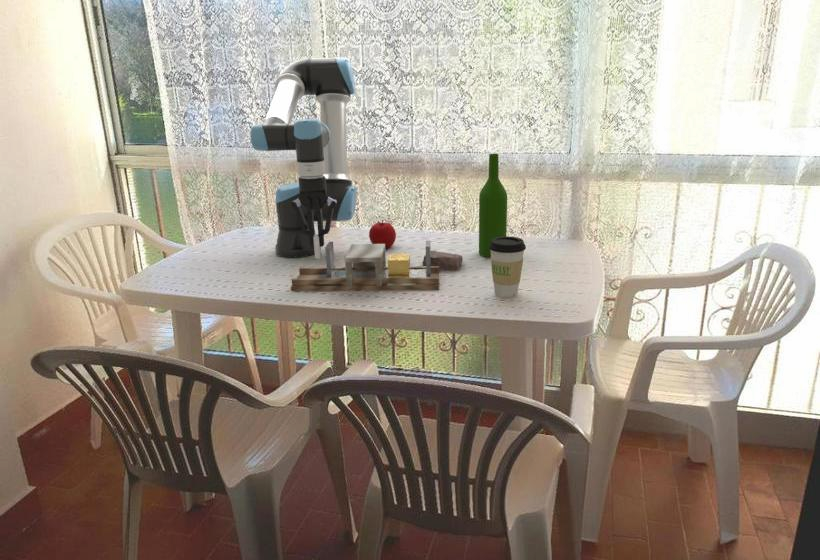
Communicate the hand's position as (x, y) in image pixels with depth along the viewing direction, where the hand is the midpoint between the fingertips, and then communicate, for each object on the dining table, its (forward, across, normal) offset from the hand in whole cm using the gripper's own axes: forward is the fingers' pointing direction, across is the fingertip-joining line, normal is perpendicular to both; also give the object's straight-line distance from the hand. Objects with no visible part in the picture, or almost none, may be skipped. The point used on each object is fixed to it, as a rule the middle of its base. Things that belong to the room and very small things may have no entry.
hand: (318, 257), depth 183 cm
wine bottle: (+8, +53, +25) cm, 59 cm away
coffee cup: (+8, +53, -12) cm, 55 cm away
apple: (+8, +16, +36) cm, 40 cm away
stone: (+8, +36, +14) cm, 39 cm away
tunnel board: (+8, +14, 0) cm, 16 cm away
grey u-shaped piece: (+6, +18, -1) cm, 19 cm away
